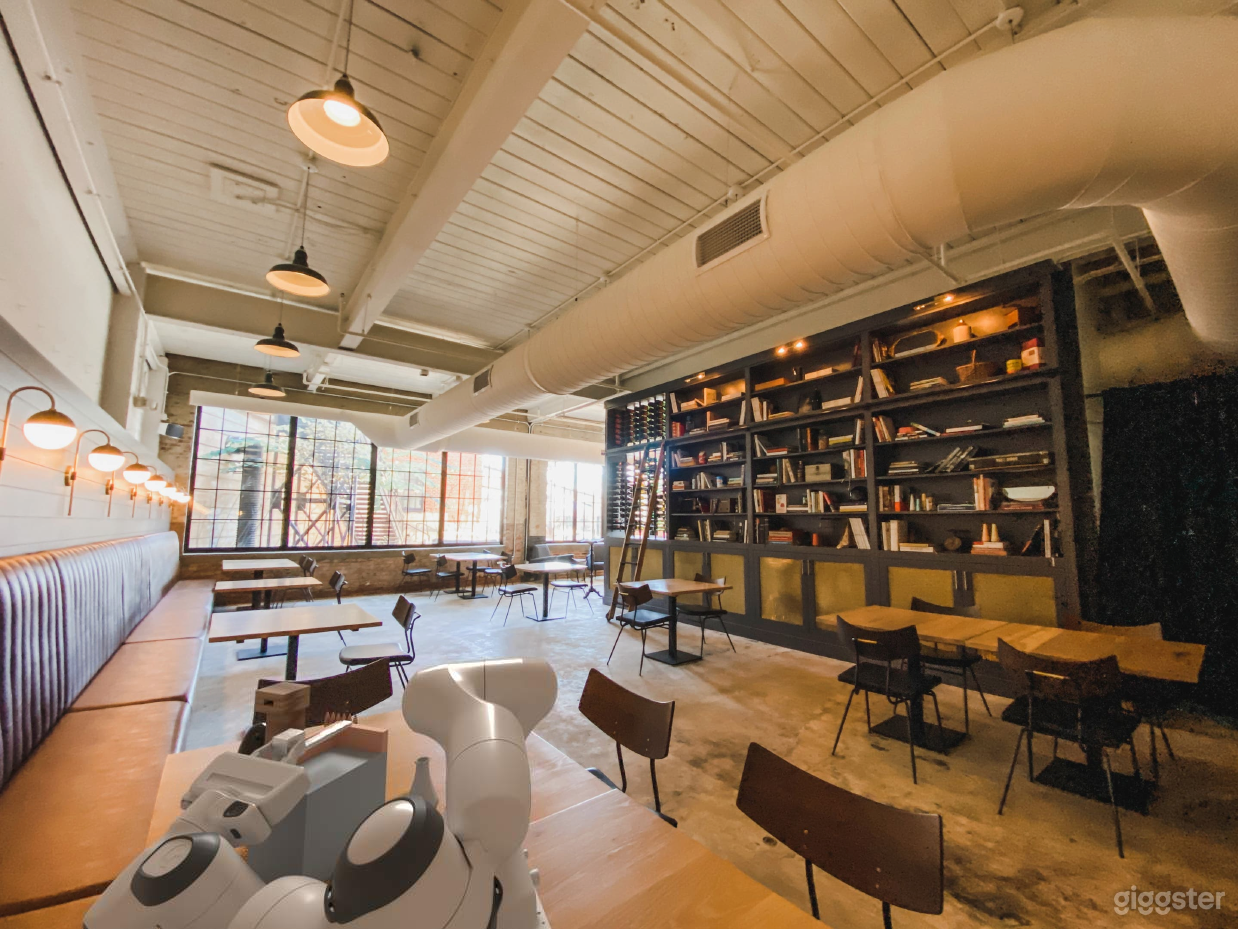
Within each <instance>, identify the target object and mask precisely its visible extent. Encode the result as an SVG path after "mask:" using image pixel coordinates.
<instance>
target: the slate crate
mask: <svg viewBox="0 0 1238 929" xmlns="http://www.w3.org/2000/svg"><path fill="white" fill-rule="evenodd" d="M296 766H300V767H304V768H305V769H306V770H307V772H308V773H309V775H310V777H311V779H312V781H311V786H310V788H309V790H308V791H307V792H306V794H305V795H304V796H303V797H302V799H301V800H300V801H299V802H298V803H297V804H296V806H295V807H294V808H293V809H292V810H291V811H290V812H289V813H288V814H287V815H286V816H285V817H284V818H283V819H282V820H281V821H280V822H278V823H277V824H275V825H272V826H270V828H271V834H270V835H269V836H268V838H267V839H266V840H265V841H264V842H262V843H260V844H255V845H248V846H247V850H246V851H247V852H246V863H247V864H248V865H249V866H250V867H251V868H252V869H253V870H254V872H255V873H256V874H257V875H258V876H259V877H260V878H261V879H262V880H263V881H264V882H265V883H267V884H269V883H271V882H272V881H274V880H276V879H279V878H281V877H285V876H305V877H310V878H313V879H316V880H319V881H321V882H323V883H325V882H326V881H327V880H329V879H330V877H331V875H332V873H333V871H334V870H335V866H336V863H337V861H338V858H339V856H340V854H341V852H342V850H343V849H344V847H345V845H346V843H347V841H348V840H349V838H350V836H351V835H352V833H353V832H354V830H355V829H356V828H357V826H358V825H359V824H360V823H361V822H362V821H363V820H364V819H365V818H366V817H367V816H368V815H369V814H370V813H371V812H372V811H374V810H375V809H376V808H378V807H379V806H381V805H382V804H384V803H386V790H387V766H388V749H387V750H386V751H385V752H383V753H378V752H373V751H368V750H363V749H357V748H352V747H347V746H342V745H335V746H333V747H331V748H329V749H327V750H325V751H323V752H321V753H319V754H317V755H315V756H312V757H310V758H308V759H306V760H304V761H302V762H300V763H298V764H296Z"/></svg>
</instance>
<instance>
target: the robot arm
mask: <svg viewBox="0 0 1238 929" xmlns="http://www.w3.org/2000/svg"><path fill="white" fill-rule="evenodd" d="M558 683H559V682H558V678H557V675H556V671H555V670H554V668H553V667H552V665H551V664H550V663H549V662H548V661H547V660H546V659H544V658H543V659H542V658H538V657H537V658H536V657H529V656H528V657H527V656H510V657H497V658H485V659H480V660H479V659H478V660H465V661H457V662H456V661H455V662H444V663H441V664H438V665H432V666H430V667H426V668H423V669H419V670H417V671H416V672H415V673H414V674H413V675H412V676H411V678H410V679H409V681H408V682H407V683H406V686H405V687H404V691H403V694H402V699H401V711H402V717H403V719H404V721H405V723H406V725H407V727H408V728H409V729H410V731H412V732H413V733H416V734H420V735H424V736H425V737H428V738H430V739H431V740H433V741H434V742H436V743H437V744H438V745H439V746H441V748H442V749H443V751H444V754H445V768H446V769H445V771H446V772H445V807H444V809H443V813H442V814H441V812H440V811H439V810H438V809H437V808H436V807H434V806H433V805H431V804H430V803H429V802H428V801H427V800H425V799H424V798H422V797H420V796H418V795H409V794H406V795H402V796H399V797H396V798H393V799H389V800H388V801H385V803H384V804H382V805H381V806H379V807H378V808H376V809H375V810H374V811H372V812H371V813H370V814H369V815H368V816H367V817H366V818H365V819H364V820H363V821H362V822H361V823H360V824H359V825H358V826H357V828H356V829H355V830H354V832H353V833H352V835H351V836H350V838H349V840H348V841H347V843H346V845H345V847H344V849H343V850H342V852H341V854H340V856H339V858H338V861H337V863H336V866H335V870H334V871H333V873H332V875H331V877H329V878H328V881H327V883H326V882H321V881H319V880H316V879H313V878H310V877H305V876H285V877H281V878H279V879H276V880H274V881H272V882H271V883H269V884H267V883H265V882H264V881H263V880H262V879H261V878H260V877H259V876H258V875H257V874H256V873H255V872H254V870H253V869H252V868H251V867H250V866H249V865H248V864H247V860H245V859H244V858H243V856H241V855H240V853H239V852H238V851H237V850H236V849H237V848H242V847H248V845H255V844H260V843H262V842H264V841H265V840H266V839H267V838H268V836H269V835H270V834H271V828H270V826H272V825H275V824H277V823H278V822H280V821H281V820H282V819H283V818H284V817H285V816H286V815H287V814H288V813H289V812H290V811H291V810H292V809H293V808H294V807H295V806H296V804H297V803H298V802H299V801H300V800H301V799H302V797H303V796H304V795H305V794H306V792H307V791H308V790H309V788H310V786H311V781H312V779H311V777H310V775H309V773H308V772H307V770H306V769H305V768H304V767H300V766H296V762H297V759H298V756H299V754H300V753H301V752H302V751H303V750H304V749H305V744H304V742H303V741H299V740H295V741H294V742H293V744H291V745H290V746H289V747H288V748H289V750H290V752H289V754H288V756H287V758H286V757H284V758H283V759H282V760H281V761H280V762H277V761H272V760H267V759H264V758H266V757H267V756H269V755H270V754H272V753H273V739H272V740H271V741H270V742H269V743H268V744H266V745H264V746H262V747H261V748H259V749H257V750H255V751H254V752H253V753H252V754H251V755H250V756H249V755H244V754H239V753H237V752H234V751H229V750H227V751H224V752H222V753H221V754H219V755H217V756H215V758H214V759H213V760H212V761H210V763H209V764H208V765H207V766H206V767H205V768H204V770H202V772H200V774H199V775H198V776H197V777H196V778H195V779H194V780H193V782H192V783H191V785H190V787H189V790H187V791H186V792H185V793H184V794H183V795H182V796H181V800H180V803H179V804H180V805H179V808H180V809H181V810H182V811H183V812H182V813H181V814H180V815H179V816H177V817H176V819H174V820H173V822H171V824H170V826H168V828H167V830H166V831H165V832H164V834H163V835H161V837H159V839H158V840H156V841H155V842H154V843H153V844H151V845H150V846H148V847H147V848H145V849H144V850H143V851H141V853H139V855H138V856H137V857H135V858H134V860H132V861H131V862H130V863H129V865H127V867H125V869H123V871H122V872H120V874H118V876H117V877H115V879H114V880H113V881H112V882H111V884H109V885H108V886H107V887H106V889H105V890H104V891H103V892H102V894H100V895H99V897H98V898H97V899H96V901H94V903H93V904H92V905H91V907H90V908H89V910H88V911H86V913H85V915H84V916H83V917H82V927H81V928H82V929H552V927H551V924H550V923H549V920H548V917H547V915H546V912H545V910H544V907H543V904H542V902H541V899H540V897H539V894H538V891H537V889H536V887H538V886H540V883H541V878H540V871H539V869H538V868H532V869H530V868H529V865H528V861H527V859H529V850H528V849H527V848H525V849H523V846H522V844H523V842H524V840H525V838H526V836H527V833H528V831H529V826H530V823H531V822H530V819H531V808H532V785H531V784H532V783H531V782H532V781H531V771H530V766H529V765H530V764H529V758H528V752H527V747H526V740H527V739H528V737H529V736H530V734H531V733H532V731H533V730H534V729H535V728H536V726H538V724H539V723H540V722H542V720H544V719H545V718H546V717H547V716H548V715H549V714H550V712H551V711H552V709H553V708H554V706H555V704H556V701H557V698H558V694H559V693H558V692H559V685H558Z"/></svg>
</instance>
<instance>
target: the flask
mask: <svg viewBox="0 0 1238 929" xmlns="http://www.w3.org/2000/svg"><path fill="white" fill-rule="evenodd" d="M430 761H431V757H430V756H428V755H425V756H418V757H417V758H416V759H415V760H414V764H415V773H414V778H413V781H412V784H411V787H410V791H409V793H408V795H418V796H420V797H422V798H424V799H425V800H427V801H428V802H429V803H430V804H431V805H433V806H434V807H435V808H436V807H437V805H438V803H439V800H440V799H439V797H438V794H437V792H436V788H435V786H434V783H433V780H432V776H431V773H430Z"/></svg>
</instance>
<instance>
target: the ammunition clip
mask: <svg viewBox="0 0 1238 929" xmlns="http://www.w3.org/2000/svg"><path fill="white" fill-rule="evenodd" d="M357 716H358V715H357V714H354V716H353V718H352V714H351V713H349V714H348V715H346V713H345V712H344V713H342V716H341V714H340V712H338V713H337V715H335V712H332V713H331V715H330V713H329V711H327V712H326V713H325V717H324V725H323V728H324V727H326V726H329V725H331V724H333V723H336V722H338V721H341V722H342V721H344V720H345V721H351V722H352V723H353V724H358V723H359V722H358V717H357Z"/></svg>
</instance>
